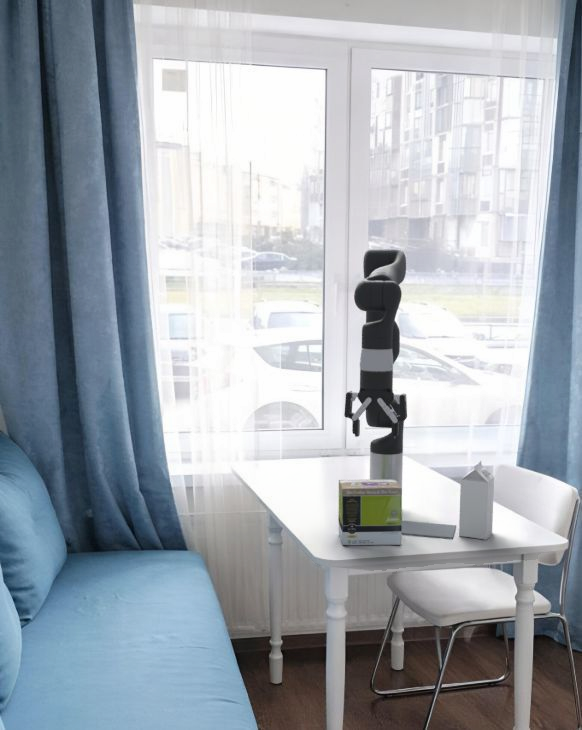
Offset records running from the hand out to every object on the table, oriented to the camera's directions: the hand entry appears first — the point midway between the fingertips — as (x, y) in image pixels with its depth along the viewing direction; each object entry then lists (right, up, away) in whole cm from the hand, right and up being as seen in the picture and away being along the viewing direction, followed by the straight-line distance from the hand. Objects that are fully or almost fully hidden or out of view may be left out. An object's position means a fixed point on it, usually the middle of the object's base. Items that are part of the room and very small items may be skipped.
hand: (375, 437), depth 192 cm
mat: (+14, -27, +27) cm, 40 cm away
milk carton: (+28, -28, +23) cm, 46 cm away
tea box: (0, -28, +18) cm, 33 cm away
